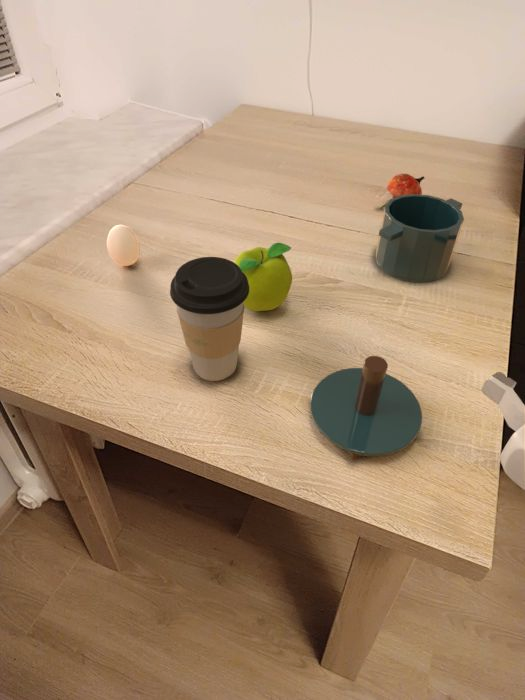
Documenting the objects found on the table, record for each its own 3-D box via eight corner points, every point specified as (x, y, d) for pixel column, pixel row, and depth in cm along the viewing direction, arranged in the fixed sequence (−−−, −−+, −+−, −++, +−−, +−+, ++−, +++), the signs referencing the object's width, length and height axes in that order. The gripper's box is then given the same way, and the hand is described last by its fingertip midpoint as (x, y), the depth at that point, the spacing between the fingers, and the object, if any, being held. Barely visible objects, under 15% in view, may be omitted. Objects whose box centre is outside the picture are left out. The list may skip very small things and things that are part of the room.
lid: (442, 419, 61) (462, 369, 55) (369, 480, 55) (383, 432, 49) (359, 359, 68) (370, 310, 62) (287, 407, 62) (290, 358, 56)
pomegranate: (390, 228, 100) (437, 200, 96) (372, 199, 96) (420, 169, 92) (385, 214, 106) (429, 187, 102) (368, 186, 102) (413, 157, 98)
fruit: (302, 310, 77) (306, 255, 71) (250, 331, 74) (250, 275, 67) (270, 280, 83) (271, 226, 76) (220, 298, 79) (217, 243, 72)
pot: (472, 260, 88) (489, 211, 81) (404, 297, 80) (417, 246, 73) (417, 231, 95) (429, 183, 88) (349, 262, 87) (357, 212, 81)
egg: (105, 265, 86) (95, 227, 81) (128, 252, 89) (120, 214, 84) (126, 276, 83) (117, 238, 78) (149, 262, 86) (142, 224, 81)
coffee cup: (168, 380, 67) (153, 289, 56) (199, 335, 73) (190, 246, 63) (234, 399, 64) (230, 308, 54) (259, 351, 71) (260, 262, 60)
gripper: (780, 374, 38) (600, 285, 46) (656, 527, 29) (458, 383, 37) (726, 425, 42) (569, 336, 50) (603, 572, 33) (436, 434, 41)
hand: (521, 356), depth 43 cm, fingers open, 8 cm apart
